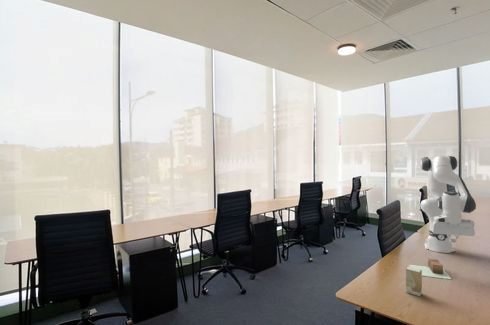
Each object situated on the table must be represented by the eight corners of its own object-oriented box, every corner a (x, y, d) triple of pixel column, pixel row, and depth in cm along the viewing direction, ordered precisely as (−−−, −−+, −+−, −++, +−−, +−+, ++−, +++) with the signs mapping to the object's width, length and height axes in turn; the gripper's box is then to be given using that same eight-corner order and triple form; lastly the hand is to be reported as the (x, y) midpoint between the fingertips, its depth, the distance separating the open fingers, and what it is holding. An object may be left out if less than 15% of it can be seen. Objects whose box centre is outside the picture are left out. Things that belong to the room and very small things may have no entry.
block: (427, 258, 164) (432, 264, 154) (437, 259, 162) (442, 265, 152) (428, 266, 164) (432, 273, 154) (437, 267, 162) (443, 274, 152)
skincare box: (405, 292, 133) (405, 268, 133) (408, 289, 136) (407, 266, 136) (420, 296, 128) (419, 271, 128) (422, 293, 131) (421, 269, 131)
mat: (409, 265, 168) (409, 264, 168) (443, 269, 161) (443, 268, 161) (413, 274, 153) (413, 274, 153) (451, 279, 146) (451, 279, 146)
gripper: (471, 218, 154) (473, 242, 153) (430, 217, 162) (431, 239, 161) (476, 220, 148) (477, 245, 147) (433, 218, 156) (434, 242, 156)
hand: (453, 242), depth 154 cm, fingers closed
